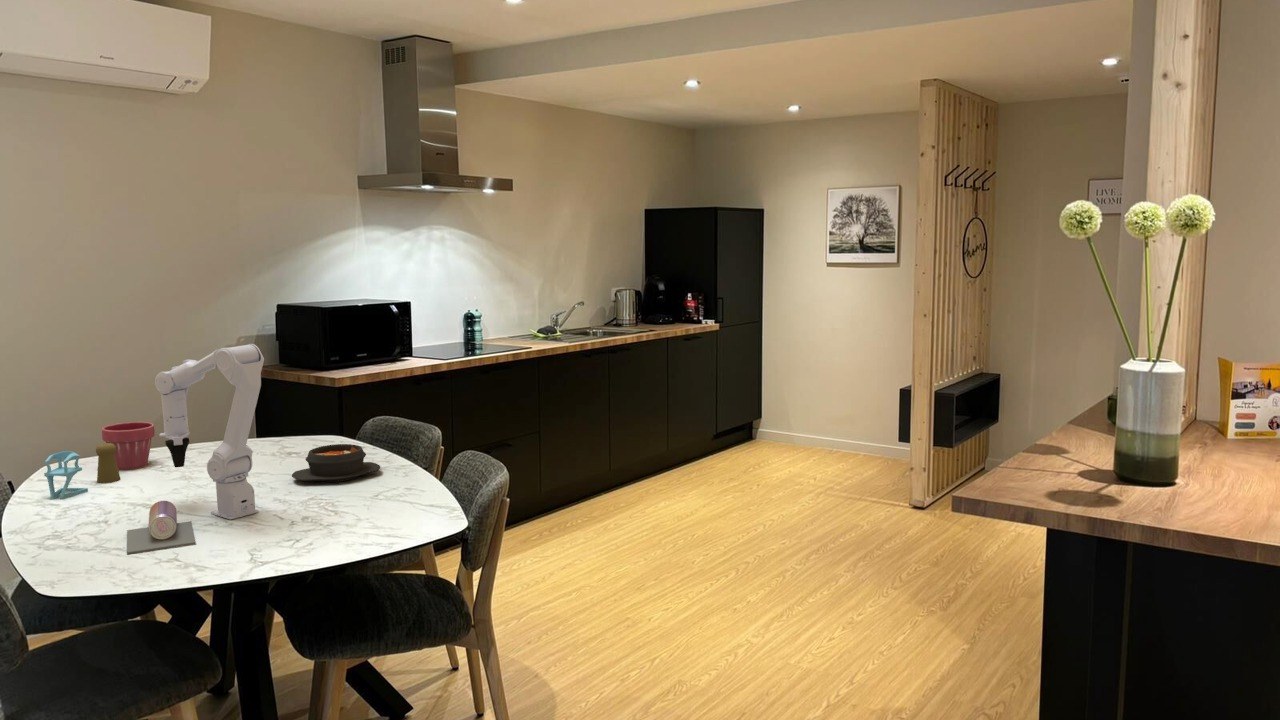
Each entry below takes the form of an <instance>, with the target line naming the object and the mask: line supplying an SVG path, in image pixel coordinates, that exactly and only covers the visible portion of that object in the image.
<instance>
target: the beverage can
mask: <svg viewBox="0 0 1280 720" xmlns="http://www.w3.org/2000/svg"><path fill="white" fill-rule="evenodd" d="M177 512H178V511H177V508H176V506H175V504H174V503H172V502H171V501H169V500H160V501H157V502H155V503H154V504H153V505H152V506H151V507H150V509H149V513H148V514H149V515H148V523H147V524H148V526H147V527H148V530H149V533H150V534H151V535H152V536H153V537H154V538H156V539H161V540H162V539H167V538H169V537H171V536H172V535H173V534H174V533H175V531H176V529H177V523H178V517H177V516H178V513H177Z"/></svg>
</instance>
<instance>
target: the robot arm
mask: <svg viewBox="0 0 1280 720" xmlns="http://www.w3.org/2000/svg"><path fill="white" fill-rule="evenodd" d="M264 363H265V358H264V355H263V354H262V352H261V350H260V348H259V347H258V346H257V345H256V344H254V343H248V344H245V345H238V346H231V347H222V348H219V349H215V350H214V351H213V352H212V353H209V354H208V355H206V356H204V357H202V358H201V359H200V360H197V359H196V360H195V359H190V358H189V359H184V360H182V364H180V365H176V366H173V367H171V370H169V371H168V370H167V371H160V372H159V373H157V374H156V375H155V379H154V385H155V389H156V390H157V391H158V393H159V394H160V395H161V397H160V398H161V407H162V421H163V432H161V433H159V435H158V436H159V438H166V439H168V440H165V441H164V443H165V445H166V447H167V449H168V450H169V453H170V456H171V459H172V462H173V466H174V468H176V469H177V468H184V467H185V463H186V452H187V449H188V446H189V444H190V439H189V437H188V436H189V435H190V434H191V433H190V429H189V420H188V418H189V416H188V405H187V397H188V395H189V392H188V390H189V389H190V386H193V384H196V383H198V382H200V381H202V380H203V379H205V376H206V373H208V372H211V371H213V370H214V369H215V370H216V369H218V371H219V372H220V374H222V375H223V377H224V378H225V379H226V380H227V382H228V383H230V385H232V386H234V388H235V391H234V394H233V398H232V402H231V407H230V411H229V415H228V420H227V424H226V427H225V433H224V436H223V439H222V440H223V441H222V443H220V445H218V447H216V448H215V449H214V450H213V452H212V456H211V457H210V459H208V462H207V464H206V471H207V474H208V475H209V478H211V480H212V482H215V490H216V491H215V492H216V503H217V509H216V510H212V511H210V514H211V515H215V516H218V517H221V518H225V519H227V520H234V519H239V518H242V517H245V516H249V515H254V514H256V513H259V512H260V510H259V509H257V508H256V499H255V489H254V487H253V486H252V484H251V483H249V482H248V480H247V478H248V477H249V472H251V471H252V467H253V453H254V451H253V449H251V447H250V446H249V445H248V439H249V436H250V431H251V427H252V424H253V419H254V415H255V411H256V408H257V404H258V399H259V394H260V391H261V387H262V374H261V373H262V370H263V366H264Z"/></svg>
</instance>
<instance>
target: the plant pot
mask: <svg viewBox="0 0 1280 720" xmlns="http://www.w3.org/2000/svg"><path fill="white" fill-rule="evenodd" d="M155 433H156V432H155V424H154V423H152V422H148V421H128V422H127V421H126V422H120V423H119V422H118V423H114V424H109V425H106V426H103V427H102V428H101V439H102V441H103V442H105V443H112V444H114V445H115V446H116V453H115V459H116V463H117V467H118V471H119V470H121V471H123V470H124V471H128V470H136V469H141V468H144V467H146V466H147V465H148V463H149V459H150V452H151V445H152V438H154V437H155Z"/></svg>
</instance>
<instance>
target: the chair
mask: <svg viewBox="0 0 1280 720" xmlns="http://www.w3.org/2000/svg"><path fill="white" fill-rule="evenodd" d="M53 459H56V460H57V462H58V463H57V464H58V465H57V466H58V467H56V468H54V469H52V467H51V465H50V462H51V461H52V460H53ZM62 459H64V460H63V462H62ZM73 459H74V467H69V466H68V463H69V462H70V461H71V460H73ZM79 459H80V454H78V453H76V452H74V451H70V450H64V451H61V452H56V453H53V454H50V455H49V456H47V458H46V460H44V463H45V466H46V468H47V471H45V472H44V473H43V475H44V476H43V477H46V480H47V482H48V483H47V484H48V488H49V494H50V500H55V499H57V498H58V497H59V500H64V499H67V498H71V497H73V496H76V495H80V494H83V493H84V494H85V493H87V492H88V491H89V488H88V487H69V485H70V483H71V481H72V479H73V477H74V476H75V475H76V474H78V472H81V471H83V467H82V466H79ZM62 463H63V464H62ZM54 477H66V480H65V482H64V485H63V487H60V488H58V489H57V490H55V489H56V488H55V484H54ZM66 492H67V493H66Z"/></svg>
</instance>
